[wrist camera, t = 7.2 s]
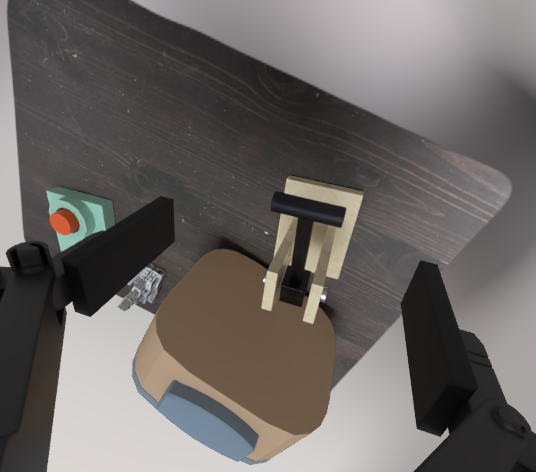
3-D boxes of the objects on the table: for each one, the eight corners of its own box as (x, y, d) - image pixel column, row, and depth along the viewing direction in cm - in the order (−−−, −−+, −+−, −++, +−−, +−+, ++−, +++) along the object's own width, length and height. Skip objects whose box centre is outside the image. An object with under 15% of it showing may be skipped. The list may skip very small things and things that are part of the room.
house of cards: (124, 237, 51) (88, 262, 44) (170, 265, 51) (140, 294, 44) (114, 274, 55) (80, 301, 49) (156, 299, 55) (128, 330, 49)
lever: (279, 183, 22) (268, 204, 21) (348, 198, 21) (343, 222, 20) (272, 277, 31) (265, 297, 30) (321, 290, 30) (316, 312, 29)
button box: (58, 184, 49) (35, 193, 46) (112, 199, 48) (92, 208, 44) (72, 249, 55) (53, 260, 52) (120, 263, 54) (104, 276, 50)
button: (57, 206, 46) (46, 210, 45) (77, 211, 46) (67, 216, 44) (62, 226, 48) (52, 232, 47) (81, 232, 48) (72, 238, 46)
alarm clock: (198, 275, 50) (98, 394, 31) (222, 233, 45) (120, 346, 26) (304, 345, 50) (266, 503, 32) (340, 312, 45) (319, 477, 27)
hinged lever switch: (289, 175, 38) (249, 227, 25) (363, 191, 36) (360, 255, 24) (275, 256, 44) (237, 330, 31) (338, 273, 42) (325, 359, 30)
